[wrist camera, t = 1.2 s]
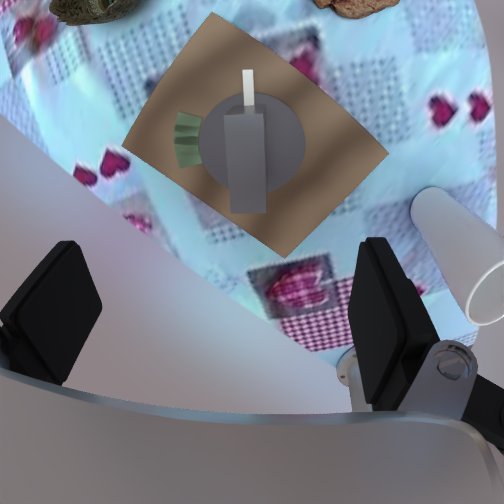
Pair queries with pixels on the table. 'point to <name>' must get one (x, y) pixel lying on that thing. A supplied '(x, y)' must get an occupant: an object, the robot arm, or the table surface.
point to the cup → (90, 10)
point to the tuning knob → (251, 146)
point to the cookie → (355, 6)
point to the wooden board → (265, 81)
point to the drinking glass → (463, 253)
